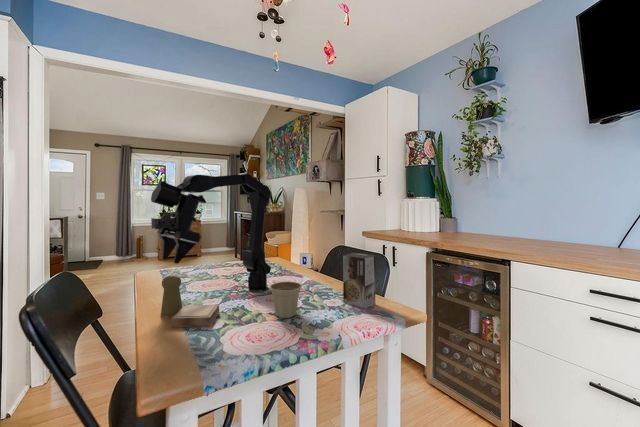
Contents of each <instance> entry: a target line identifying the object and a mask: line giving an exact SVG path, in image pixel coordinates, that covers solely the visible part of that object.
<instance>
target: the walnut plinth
mask: <svg viewBox="0 0 640 427" xmlns="http://www.w3.org/2000/svg"><path fill="white" fill-rule="evenodd" d="M219 314H220V304H193V305H191V304H190V305H189V304H188V305H184V306H182V309H180V310H179V311H178V312H177V313H176V314H175V315H174V316H172V317H170V318H171V320H170V321H171V322H170V323H171V324H170V326H171V327H170V328H173V329H175V328H199V327H201V328H203V327H205V328H206V327H211V326H212V325H213V323H214V322H215V320H216V319H217V317H218V315H219Z"/></svg>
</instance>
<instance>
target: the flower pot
mask: <svg viewBox="0 0 640 427" xmlns="http://www.w3.org/2000/svg"><path fill="white" fill-rule="evenodd" d="M301 288H302V284H301V283H300V282H295V281H281V282H275V283H272V284H270V285H269V289H270V290H271V292H270V293H272V300H273V306H274V311H275V313H274V314H275V316H276V317H279V318H281V319H288V318H292V317H293V316H294V317H295V316H296V315H297V312H298V304H299V297H300V296H299V295H300V292H301Z"/></svg>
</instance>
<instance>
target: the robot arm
mask: <svg viewBox="0 0 640 427" xmlns="http://www.w3.org/2000/svg"><path fill="white" fill-rule="evenodd" d="M237 185H239V186H241V188H242V190H244V192H245V193H246V194H247V195H248V202H249V205H250V207H251V215H250V216H251V217H250V228H249V238H248V240H249V241H248V246H247V248H246V249H243V250H242V257H241V261H242V265H243V266H244V267H245V269H246V271H247V272H248V273H249V275H248V277H247V279H248V280H247V281H248V282H247V286H248V287H247V288H248V291H267V289H268V285H269V284H268V274H270V273H271V269H272V268H271V266H270V265H269V264H268V263H267V262H266V253H265V251H264V248H263V235H264V223H265V212H266V208H267V206H268V205H269V203H270V201H271V200H270V198H271V195H272V193H271V189H270V188H269V187H268V185H265V184H264V183H263V182H261V181H259V180H258V179H256V178H255V177H254V176H253V175H251V174H250V173H248V172H245V173H244V172H243V173H238V174H230V175H219V176H215V175H214V176H213V175H208V174H206V175H205V174H194V175H193V174H192V175H187V176H185V178H184V179H183V181H182V182H181V183H180V184H178V185H177V186H175V185H172V184H170V183H168V182H166V181H163V180H161V181H158V184H157V185H156V187H155V188H154V190H153V191H152V193H151V196H150V202H151V203H154V204H157V205H160V206H164V207H167V208H170V209H173V208H174V207H176V206H177V207H176V210H175V212H172V213H171V214H166V215H165V214H162V215H161V217H151V218H150V219H151V220H150V221H151V222H150V223H151V229H155V230H157V234H158V237H159V238H160V240H161V241H162V259H163V260H168V258H169V256H170V255H171V254H172V252H173V250H174V249H175V255H174V260H173V262H174V263H173V264H176V265H177V264H179V263H180V262H181V261H182V259H184V257H185V256H186V255H187V254H188V253H189V252H190V251H191V250H192V249H193V248H194V246H196V245H197V243H199V244H200V242H201V239H202V235H201V233H200V232H197V231H193V230H191V229H192V226H193V222H196V221H197V218H196V217H195V216H196V213H197V210H198V208H199V204H206V203H207V200H206V199H205V198H204V195H203V194H201V193H204V192H207V191H210V190H212V189H216V188H219V187H221V188H222V187H228V186H237ZM184 193H188V194H184ZM198 193H200V194H199V195H196V194H198ZM175 247H176V248H175Z"/></svg>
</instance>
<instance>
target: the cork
mask: <svg viewBox="0 0 640 427" xmlns="http://www.w3.org/2000/svg"><path fill="white" fill-rule="evenodd" d="M181 285H182V279H181V277H180V276H177V275H169V276H166V277H164V278H163V279H162V280H161V287H162V288H163V294H162V302H161V308H160V309H161V310H160V316H161V317H165V318H172V317H173V316H174V315H175V314H176V313H177V312H178V311H179V310H180V309H182V308H183V302H182V295H181V290H180V287H181Z"/></svg>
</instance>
